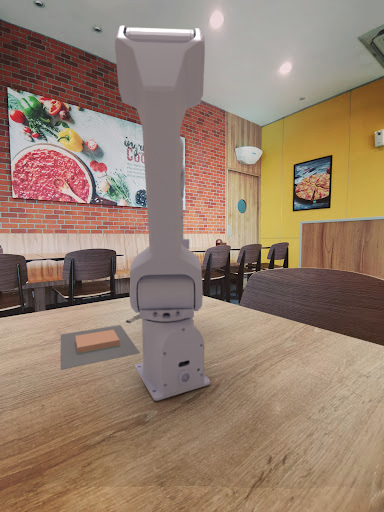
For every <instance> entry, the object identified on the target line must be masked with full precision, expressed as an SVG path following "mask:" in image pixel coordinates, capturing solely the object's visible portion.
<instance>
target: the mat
mask: <svg viewBox="0 0 384 512" xmlns="http://www.w3.org/2000/svg"><path fill="white" fill-rule="evenodd" d="M108 330H114V331H115V333H116V335H117V336H118V338H119V340H120V346H119V347H114V348H109V349H104V350H99V351H93V352H88V353H83V354H77V348H76V338H75V336H77V335H83V334H89V333H95V332H101V331H108ZM140 353H141V352H140V351H139V349H138V347H136V345H135V344H134V341H132V339H131V338H130V336H129V335H128V334H127V332H126V331H125V330H124V328H123V326H122V325H121V324H118V325H111V326H104V327H100V328H93V329H92V328H91V329H88V330H86V329H85V330H82V331H81V330H79V331H74V332H73V331H72V332H68V333H63V334H62V333H61V334H60V370H61V371H62V370H68V369H72V368H77V367H82V366H86V365H90V364H96V363H100V362H105V361H109V360H114V359H118V358H123V357H128V356H132V355H137V354H140Z"/></svg>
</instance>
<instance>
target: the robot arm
mask: <svg viewBox="0 0 384 512" xmlns="http://www.w3.org/2000/svg"><path fill="white" fill-rule="evenodd" d="M205 44H206V43H205V34H204V33H203V31H201V28H199V27H195V28H194V29H188V28H187V29H186V28H185V29H182V28H162V27H161V28H157V27H155V28H154V27H131V26H130V27H127V26H126V25H119V28H118V29H117V32H116V33H115V38H114V49H115V63H116V70H117V71H116V72H117V81H118V82H117V86H118V93H119V94H120V97H121V101H122V103H123V104H126V105H128V106H130V107H131V108H132V107H133V108H134V109H136V111H137V114H138V117H139V120H140V124H141V129H142V143H143V160H144V176H145V177H144V179H145V196H146V208H147V210H146V211H147V212H146V213H147V227H148V228H147V229H148V242H149V243H148V244H149V245H148V247H146V248H145V249H144V250H142V251H141V252H140V253H138V254H137V255H136V256H135V257H134V258H133V261H132V262H131V265H130V269H129V303H130V304H129V305H130V307H131V309H132V310H133V311H134V312H135V313H136V314H138V313H139V314H140V319H139V320H141V324H142V325H141V326H142V327H141V328H142V329H141V330H142V362H140V363H137V364H135V365H134V368H135V370H136V372H137V374H138V375H139V377H140V378H141V379H142V382H143V384H144V385H145V388H146V389H147V391H148V393H149V394H150V396H151V398H152V400H154V401H156V402H157V401H161V400H164V399H167V398H170V397H174V396H177V395H180V394H183V393H184V394H185V393H186V392H190V391H194V390H196V389H200V388H202V387H206V386H209V385H210V384H211V380H210V379H209V377H207V376H206V374H205V342H204V341H205V339H204V337H203V335H202V333H201V332H200V331H199V329H197V327H196V325H195V323H194V320H193V319H194V317H195V315H194V314H195V312H199V310H200V309H201V308H202V307H203V298H204V296H203V294H204V293H203V292H204V291H203V290H204V289H203V275H202V273H203V272H202V270H203V269H202V264H201V261H200V260H199V257H198V255H196V254H195V253H194V252H193V251H191V250H189V249H190V239H187V238H185V239H184V200H183V199H184V195H185V194H184V191H185V185H186V183H185V182H186V175H185V174H186V171H185V170H186V169H185V164H184V141H183V139H182V137H181V127H182V124H183V121H184V117H185V114H186V111H187V110H189V109H191V108H193V107H196V106H198V105H200V104H201V103H202V98H203V96H204V84H205V83H204V77H205V76H204V75H205V59H206V58H205V54H206V47H205V46H206V45H205Z"/></svg>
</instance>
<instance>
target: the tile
mask: <svg viewBox="0 0 384 512" xmlns="http://www.w3.org/2000/svg"><path fill="white" fill-rule="evenodd" d="M75 338H76V348H77V354H83V353H88V352H93V351H99V350H104V349H109V348H114V347H119V346H120V340H119V338H118V336H117V335H116V333H115V331H114V330H108V331H101V332H95V333H89V334H83V335H77V336H75Z"/></svg>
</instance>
